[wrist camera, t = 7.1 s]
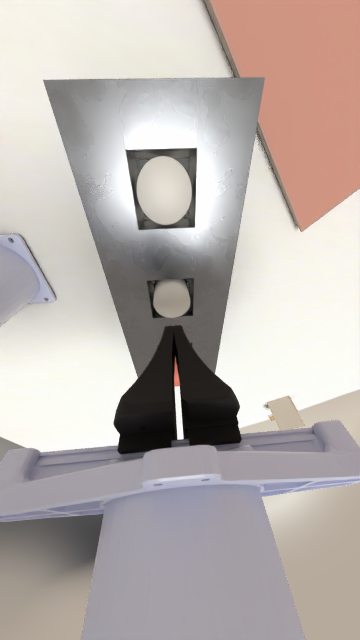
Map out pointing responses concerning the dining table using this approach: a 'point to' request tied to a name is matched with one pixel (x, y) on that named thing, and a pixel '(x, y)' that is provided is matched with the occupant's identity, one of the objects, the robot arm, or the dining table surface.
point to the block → (122, 202)
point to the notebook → (301, 92)
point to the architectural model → (285, 413)
